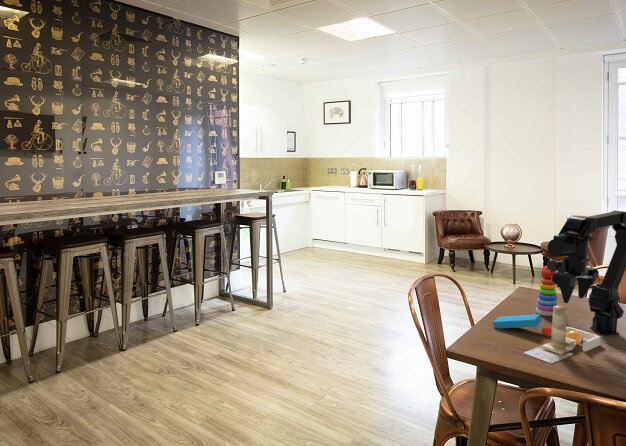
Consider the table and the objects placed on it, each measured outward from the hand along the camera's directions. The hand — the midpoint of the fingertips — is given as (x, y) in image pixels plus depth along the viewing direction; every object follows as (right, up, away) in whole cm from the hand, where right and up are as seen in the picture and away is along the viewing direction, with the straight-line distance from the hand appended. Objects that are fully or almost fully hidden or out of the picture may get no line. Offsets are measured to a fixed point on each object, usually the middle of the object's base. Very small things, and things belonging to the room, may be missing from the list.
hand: (573, 300), depth 160 cm
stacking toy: (+4, -9, +27) cm, 29 cm away
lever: (-13, -12, +9) cm, 20 cm away
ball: (-2, -11, -4) cm, 12 cm away
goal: (-1, -14, -2) cm, 14 cm away
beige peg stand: (-8, -14, -8) cm, 18 cm away
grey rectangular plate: (-15, -15, -11) cm, 24 cm away
